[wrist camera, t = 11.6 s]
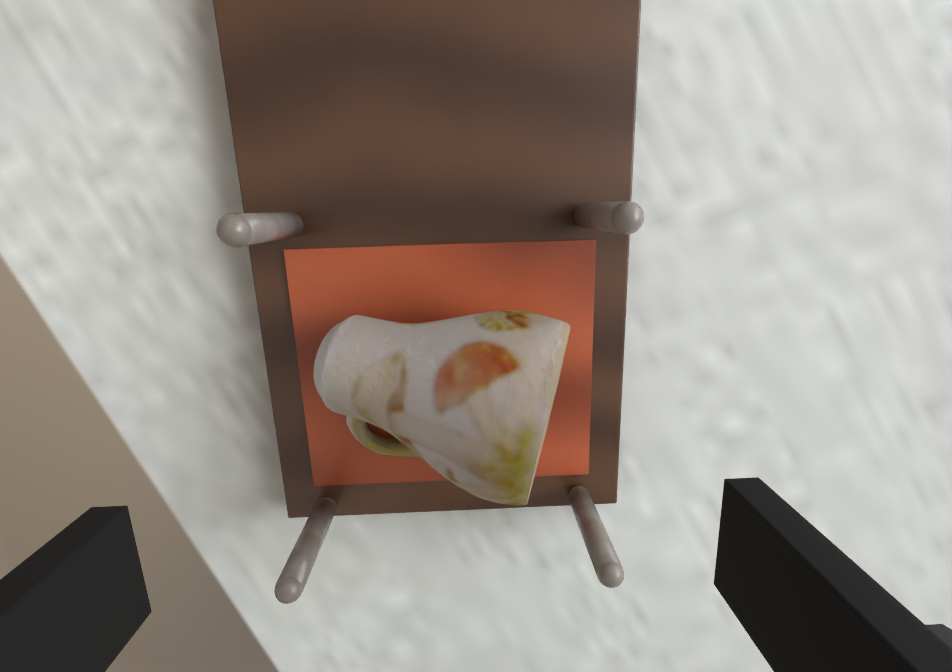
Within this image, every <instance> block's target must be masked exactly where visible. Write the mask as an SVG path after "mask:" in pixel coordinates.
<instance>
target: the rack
mask: <svg viewBox="0 0 952 672" xmlns="http://www.w3.org/2000/svg"><path fill="white" fill-rule="evenodd" d="M213 4H214V11H215V18H216V24H217V31H218V38H219V45H220V52H221V59H222V66H223V72H224V79H225V86H226V93H227V100H228V107H229V114H230V120H231V127H232V134H233V141H234V148H235V155H236V161H237V168H238V175H239V182H240V189H241V196H242V203H243V209H244V213H233V214H227V215H224V216H223V217H222V218H221V219H220V220H219V221H218V223H217V225H216V232H217V235H218V237H219V239H220V240H221V241H222V242H223V243H224V244H226V245H228V246H231V247H242V246H247V245H249V251H250V257H251V264H252V271H253V278H254V285H255V292H256V298H257V305H258V312H259V319H260V326H261V333H262V340H263V346H264V353H265V360H266V367H267V374H268V381H269V388H270V394H271V401H272V408H273V415H274V422H275V429H276V436H277V442H278V449H279V456H280V463H281V470H282V477H283V483H284V490H285V497H286V504H287V511H288V517H289V518H294V517H309V518H308V520H307V522H306V524H305V526H304V528H303V530H302V532H301V534H300V536H299V538H298V540H297V542H296V544H295V546H294V548H293V550H292V552H291V554H290V556H289V558H288V561H287V563H286V565H285V567H284V569H283V571H282V573H281V575H280V577H279V579H278V581H277V583H276V586H275V596H276V598H277V599H278V600H279V601H280V602H281V603H285V604H288V603H292V602H294V601H296V600H297V599H298V598H299V597H300V595H301V594H302V591H303V589H304V586H305V584H306V582H307V579H308V577H309V574H310V572H311V569H312V567H313V565H314V562H315V560H316V557H317V555H318V552H319V550H320V548H321V545H322V543H323V540H324V538H325V535H326V533H327V530H328V528H329V526H330V523H331V521H332V518H333V516H339V515H361V514H384V513H406V512H428V511H451V510H473V509H496V508H518V507H540V506H563V505H571V507H572V509H573V512H574V515H575V517H576V520H577V523H578V526H579V528H580V531H581V534H582V536H583V539H584V542H585V544H586V547H587V550H588V553H589V555H590V558H591V561H592V563H593V566H594V569H595V571H596V574H597V577H598V579H599V581H600V582H601V583H602V584H603V585H604V586H606V587H609V588H615V587H617V586H619V585H620V584H621V583H622V581H623V579H624V571H623V568H622V565H621V563H620V561H619V559H618V557H617V554H616V552H615V550H614V548H613V545H612V543H611V541H610V539H609V537H608V534H607V532H606V530H605V528H604V525H603V523H602V521H601V519H600V517H599V514H598V512H597V510H596V508H595V505H594V504H608V503H616V501H617V482H618V461H619V441H620V420H621V400H622V379H623V359H624V338H625V318H626V297H627V277H628V256H629V236H630V234H632V233H634V232H636V231H637V230H638V229H639V228H640V227H641V226H642V224H643V221H644V213H643V210H642V208H641V207H640V206H639V205H638V204H636V203H634V202H631V195H632V175H633V154H634V134H635V113H636V93H637V72H638V52H639V31H640V11H641V0H213ZM506 310H516V311H528V312H533V313H538V314H541V315H545V316H548V317H551V318H554V319H558V320H561V321H564V322H566V323H568V324H569V325H570V327H571V328H570V333H569V338H568V342H567V347H566V351H565V355H564V360H563V364H562V368H561V372H560V377H559V382H558V386H557V389H556V393H555V398H554V402H553V405H552V409H551V413H550V417H549V422H548V427H547V431H546V435H545V438H544V442H543V446H542V450H541V454H540V457H539V461H538V465H537V469H536V473H535V477H534V481H533V484H532V488H531V492H530V495H529V499H528V503H527V505H509V504H501V503H495V502H491V501H488V500H484V499H481V498H479V497H476V496H474V495H472V494H470V493H468V492H466V491H465V490H463V489H461V488H459V487H458V486H456V485H455V484H453V483H452V482H451V481H449V480H448V479H446V478H445V477H444V476H442V475H441V474H440V473H438V472H437V471H436V470H435V469H433V468H432V467H431V466H430V465H429V464H428V463H426V462H425V461H424V460H423V459H421V458H420V457H400V456H394V455H384V454H379V453H376V452H374V451H372V450H370V449H368V448H366V447H365V446H363V445H362V444H361V443H360V442H359V441H357V440H356V439H355V437H354V436H353V434H352V433H351V431H350V430H349V428H348V426H347V424H346V415H342V414H339V413H335V412H333V411H331V410H330V409H329V408H328V407H327V406H326V405H325V404H324V402H323V400H322V398H321V396H320V395H319V393H318V392H317V389H316V386H315V383H314V376H313V375H314V362H315V359H316V355H317V352H318V349H319V347H320V345H321V342H322V340H323V339H324V337H325V336H326V335H327V333H328V332H329V331H330V330H331V329H332V328H333V327H334V326H335V325H337V324H339V323H340V322H342V321H344V320H345V319H347V318H349V317H351V316H354V315H362V316H367V317H372V318H377V319H382V320H387V321H393V322H399V323H424V322H431V321H438V320H444V319H449V318H455V317H462V316H467V315H472V314H478V313H485V312H492V311H506ZM367 425H368V428H369V429H370V430H371V431H372V432H373V433H375V434H377V435H379V436H383V437H389V438H395V437H394V436H393V435H392V434H390V433H388V432H387V431H385V430H383V429H382V428H380V427H377V426H375V425H373V424H370V423H368V422H367ZM395 439H397V438H395Z"/></svg>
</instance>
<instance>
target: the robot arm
mask: <svg viewBox="0 0 952 672" xmlns="http://www.w3.org/2000/svg"><path fill="white" fill-rule="evenodd" d="M714 585H715V586H716V588H717V589H718V591H719V592H720V594H721V595H722V596H723V598H724V599H725V601H726V602H727V604H728V605H729V607H730V608H731V610H732V611H733V612H734V614H735V615H736V617H737V618H738V620H739V621H740V623H741V624H742V626H743V627H744V629H745V630H746V631H747V633H748V634H749V636H750V637H751V639H752V640H753V642H754V643H755V645H756V646H757V647H758V649H759V650H760V652H761V653H762V655H763V656H764V658H765V659H766V661H767V662H768V664H769V665H770V666H771V668H772V669H773V671H774V672H952V630H951V629H950V628H948V627H946V626H944V625H943V624H935V625H924V624H923V623H922V622H921V621H920V620H919V619H918V618H917V617H915V616H914V615H913V614H912V613H911V612H910V611H909V610H908V609H906V608H905V607H904V606H903V605H902V604H901V603H900V602H898V601H897V600H896V599H895V598H894V597H893V596H892V595H891V594H889V593H888V592H887V591H886V590H885V589H884V588H883V587H882V586H880V585H879V584H878V583H877V582H876V581H875V580H874V579H872V578H871V577H870V576H869V575H868V574H867V573H866V572H865V571H863V570H862V569H861V568H860V567H859V566H858V565H857V564H856V563H854V562H853V561H852V560H851V559H850V558H849V557H848V556H846V555H845V554H844V553H843V552H842V551H841V550H840V549H839V548H837V547H836V546H835V545H834V544H833V543H832V542H831V541H830V540H828V539H827V538H826V537H825V536H824V535H823V534H822V533H820V532H819V531H818V530H817V529H816V528H815V527H814V526H813V525H811V524H810V523H809V522H808V521H807V520H806V519H805V518H804V517H802V516H801V515H800V514H799V513H798V512H797V511H796V510H794V509H793V508H792V507H791V506H790V505H789V504H788V503H787V502H785V501H784V500H783V499H782V498H781V497H780V496H779V495H778V494H776V493H775V492H774V491H773V490H772V489H771V488H770V487H768V486H767V485H766V484H765V483H764V482H763V481H762V480H761V479H759V478H739V479H725V480H724V490H723V499H722V509H721V519H720V529H719V538H718V548H717V558H716V568H715V578H714ZM150 613H151V607H150V603H149V599H148V595H147V590H146V586H145V582H144V577H143V572H142V568H141V564H140V559H139V555H138V551H137V546H136V542H135V538H134V533H133V529H132V524H131V520H130V516H129V511H128V507H127V506H111V507H92V508H90V509H89V510H87V511H86V512H85V513H84V514H82V515H81V516H80V517H79V518H77V520H75V521H74V522H72V523H71V524H70V525H69V526H67V527H66V528H65V529H64V530H62V531H61V532H60V533H59V534H57V535H56V536H55V537H54V538H52V539H51V540H50V541H48V542H47V543H46V544H45V545H44V546H42V547H41V548H40V549H38V550H37V551H36V552H35V553H33V554H32V555H31V556H30V557H28V558H27V559H26V560H25V561H23V562H22V563H21V564H20V565H18V566H17V567H16V568H15V569H13V570H12V571H11V572H10V573H8V574H7V575H6V576H5V577H3V578H2V579H1V580H0V672H105V671H106V670H107V668H108V667H109V666H110V664H111V663H112V662H113V661H114V659H115V658H116V657H117V656H118V654H119V653H120V652H121V650H122V649H123V648H124V646H125V645H126V644H127V643H128V641H129V640H130V639H131V637H132V636H133V635H134V634H135V632H136V631H137V630H138V628H139V627H140V626H141V625H142V623H143V622H144V621H145V619H146V618H147V617H148V615H149V614H150Z"/></svg>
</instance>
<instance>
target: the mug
mask: <svg viewBox="0 0 952 672" xmlns="http://www.w3.org/2000/svg"><path fill="white" fill-rule="evenodd" d="M570 328H571V327H570V325H569V324H568V323H566V322H564V321H561V320H558V319H554V318H551V317H548V316H545V315H541V314H538V313H533V312H528V311H516V310H506V311H492V312H485V313H478V314H472V315H467V316H462V317H455V318H449V319H444V320H438V321H431V322H424V323H399V322H393V321H387V320H382V319H377V318H372V317H367V316H362V315H354V316H351V317H349V318H347V319H345V320H344V321H342V322H340V323H339V324H337V325H335V326H334V327H333V328H332V329H331V330H330V331H329V332H328V333H327V335H326V336H325V337H324V339H323V340H322V342H321V345H320V347H319V349H318V352H317V355H316V359H315V362H314V375H313V376H314V383H315V386H316V389H317V392H318V393H319V395H320V396H321V398H322V400H323V402H324V404H325V405H326V406H327V407H328V408H329V409H330V410H331V411H333V412H335V413H339V414H342V415H346V424H347V426H348V428H349V430H350V431H351V433H352V434H353V436H354V437H355V439H356V440H357V441H359V442H360V443H361V444H362V445H363V446H365V447H366V448H368V449H370V450H372V451H374V452H376V453H379V454H384V455H394V456H400V457H420V458H421V459H423V460H424V461H425V462H426V463H428V464H429V465H430V466H431V467H432V468H433V469H435V470H436V471H437V472H438V473H440V474H441V475H442V476H444V477H445V478H446V479H448V480H449V481H451V482H452V483H453V484H455V485H456V486H458V487H459V488H461V489H463V490H465V491H466V492H468V493H470V494H472V495H474V496H476V497H479V498H481V499H484V500H488V501H491V502H495V503H501V504H509V505H527V503H528V499H529V495H530V492H531V488H532V484H533V481H534V477H535V473H536V469H537V465H538V461H539V457H540V454H541V450H542V446H543V442H544V438H545V435H546V431H547V427H548V422H549V417H550V413H551V409H552V405H553V402H554V398H555V393H556V389H557V386H558V382H559V377H560V372H561V368H562V364H563V360H564V355H565V351H566V347H567V342H568V338H569V333H570ZM367 422H368V423H370V424H373V425H375V426H377V427H380V428H382V429H383V430H385V431H387V432H388V433H390V434H392V435H393V436H394V437H395V438H397V439H395V438H389V437H383V436H379V435H377V434H375V433H373V432H372V431H371V430H370V429H369V428H368V425H367Z"/></svg>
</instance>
